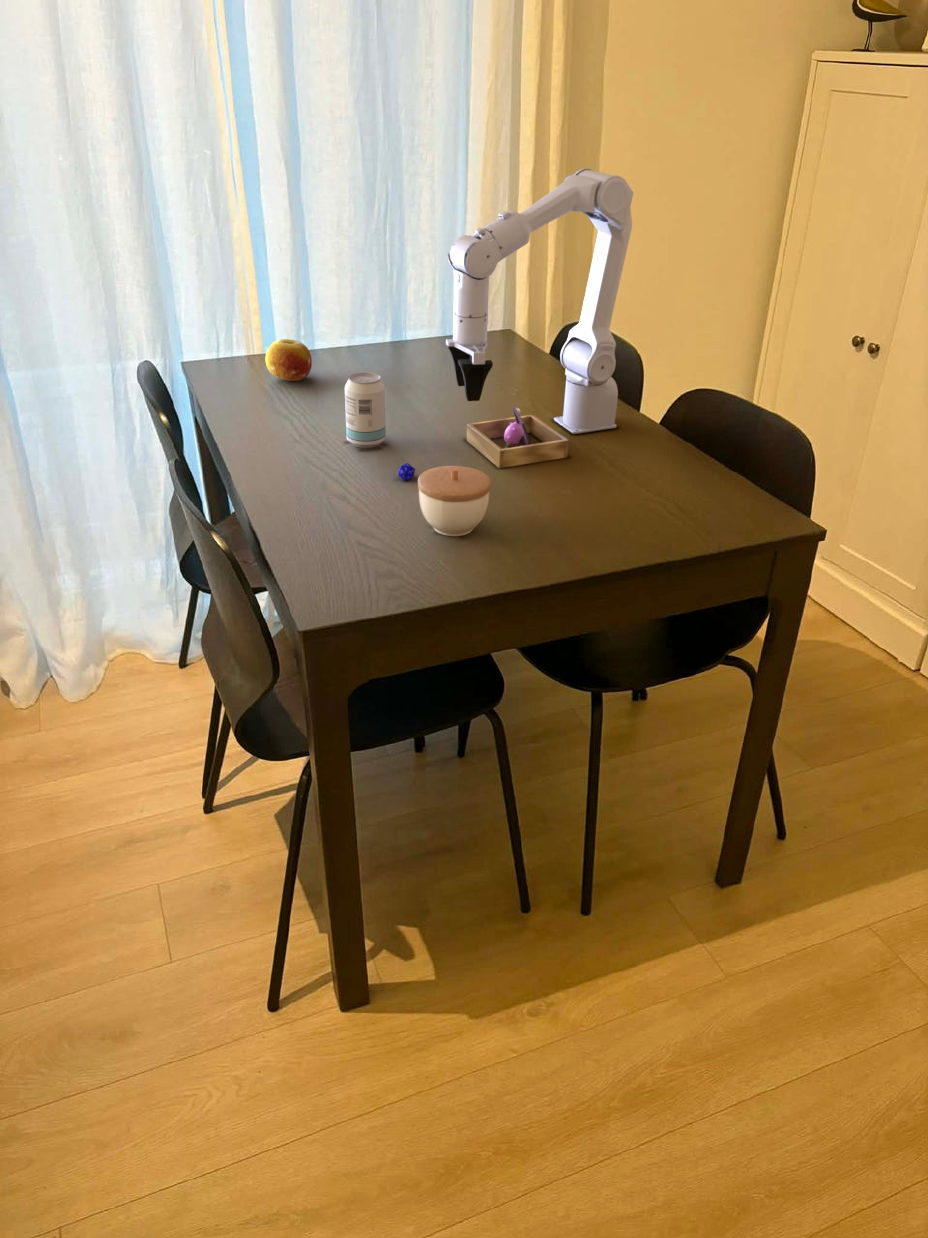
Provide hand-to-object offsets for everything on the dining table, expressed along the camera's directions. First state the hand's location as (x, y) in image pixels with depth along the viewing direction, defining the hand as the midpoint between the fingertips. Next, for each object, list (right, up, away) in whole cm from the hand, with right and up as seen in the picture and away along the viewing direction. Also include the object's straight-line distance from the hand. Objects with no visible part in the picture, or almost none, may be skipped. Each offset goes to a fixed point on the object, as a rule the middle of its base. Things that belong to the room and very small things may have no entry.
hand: (468, 392), depth 170 cm
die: (-10, -16, -7) cm, 20 cm away
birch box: (+9, -9, +5) cm, 13 cm away
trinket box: (-2, -26, -22) cm, 34 cm away
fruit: (-37, +10, +33) cm, 51 cm away
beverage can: (-18, -8, +5) cm, 21 cm away
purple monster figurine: (+9, -9, +5) cm, 13 cm away
